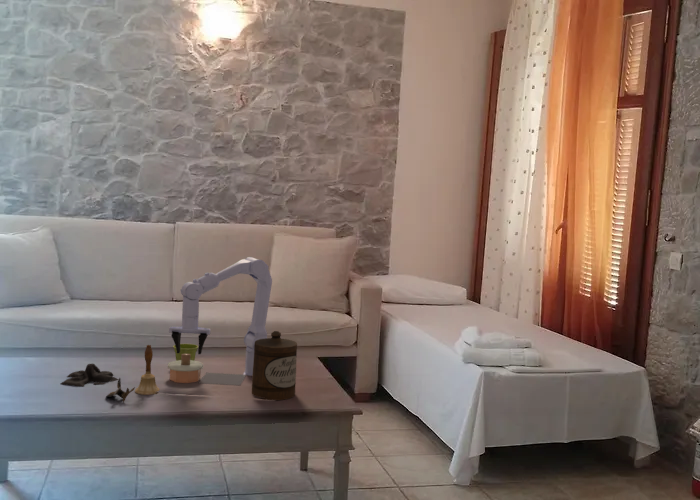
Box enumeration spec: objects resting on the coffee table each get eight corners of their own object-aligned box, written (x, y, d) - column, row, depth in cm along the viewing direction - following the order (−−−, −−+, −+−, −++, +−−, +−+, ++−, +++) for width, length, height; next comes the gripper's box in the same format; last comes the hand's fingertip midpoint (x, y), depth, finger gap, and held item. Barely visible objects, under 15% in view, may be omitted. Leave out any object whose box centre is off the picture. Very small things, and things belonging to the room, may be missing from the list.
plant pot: (170, 366, 287) (170, 344, 286) (194, 364, 291) (195, 343, 290) (175, 372, 279) (175, 349, 278) (200, 370, 283) (201, 348, 282)
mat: (246, 376, 278) (246, 374, 278) (240, 387, 263) (240, 385, 263) (206, 374, 278) (206, 372, 278) (197, 384, 264) (197, 383, 263)
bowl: (201, 377, 273) (202, 364, 273) (196, 385, 263) (196, 371, 263) (174, 376, 273) (175, 362, 273) (167, 383, 263) (168, 369, 263)
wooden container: (272, 403, 246) (275, 337, 245) (242, 393, 256) (245, 330, 254) (303, 395, 258) (307, 332, 256) (274, 386, 267) (277, 325, 265)
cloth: (59, 389, 251) (60, 371, 250) (60, 375, 268) (61, 358, 268) (128, 386, 259) (129, 369, 258) (125, 373, 276) (125, 356, 275)
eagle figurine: (139, 395, 243) (124, 385, 248) (131, 380, 239) (116, 370, 244) (120, 411, 239) (105, 400, 244) (112, 396, 235) (96, 385, 240)
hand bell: (162, 393, 250) (164, 347, 249) (137, 395, 247) (138, 348, 245) (157, 387, 258) (158, 341, 256) (132, 389, 254) (133, 342, 253)
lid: (209, 365, 272) (209, 353, 271) (192, 372, 260) (192, 360, 259) (179, 361, 275) (179, 349, 275) (161, 368, 263) (161, 356, 263)
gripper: (212, 314, 271) (211, 351, 272) (172, 312, 271) (171, 349, 272) (208, 318, 264) (207, 356, 265) (168, 316, 264) (166, 354, 265)
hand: (189, 353), depth 268 cm, fingers open, 7 cm apart
